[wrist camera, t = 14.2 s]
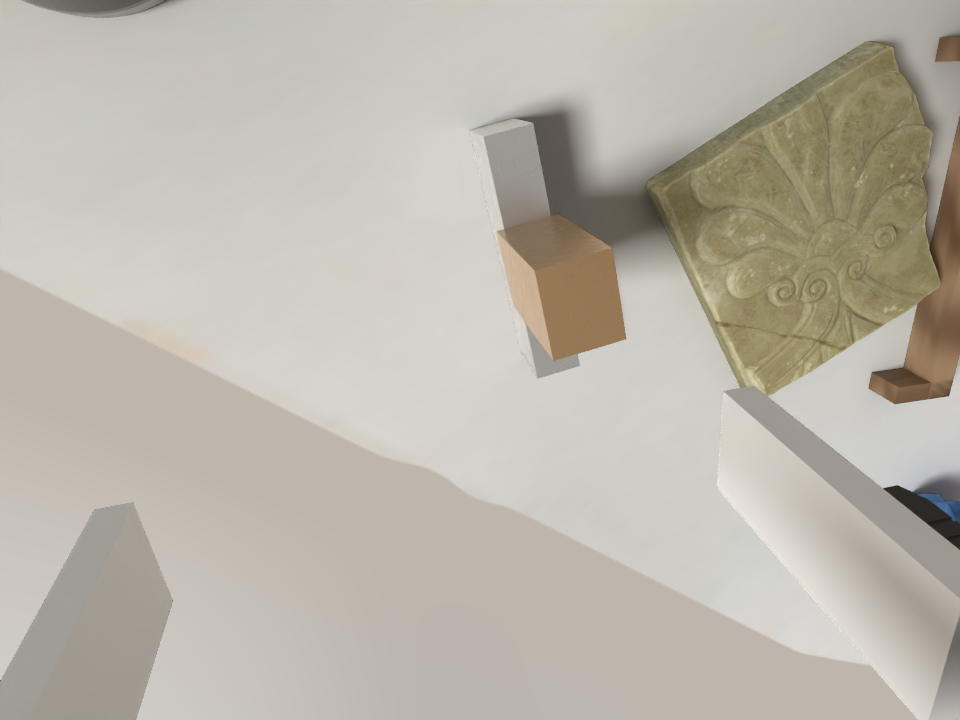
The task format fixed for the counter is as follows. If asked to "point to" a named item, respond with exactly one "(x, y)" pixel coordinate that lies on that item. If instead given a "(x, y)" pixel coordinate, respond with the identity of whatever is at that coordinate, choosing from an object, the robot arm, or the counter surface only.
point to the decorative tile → (806, 218)
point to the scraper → (544, 256)
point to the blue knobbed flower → (945, 505)
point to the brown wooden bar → (934, 296)
